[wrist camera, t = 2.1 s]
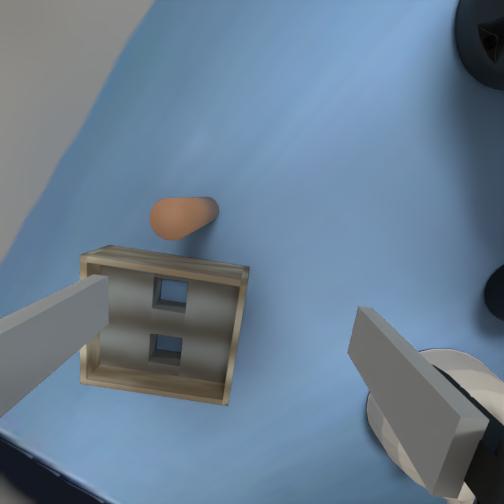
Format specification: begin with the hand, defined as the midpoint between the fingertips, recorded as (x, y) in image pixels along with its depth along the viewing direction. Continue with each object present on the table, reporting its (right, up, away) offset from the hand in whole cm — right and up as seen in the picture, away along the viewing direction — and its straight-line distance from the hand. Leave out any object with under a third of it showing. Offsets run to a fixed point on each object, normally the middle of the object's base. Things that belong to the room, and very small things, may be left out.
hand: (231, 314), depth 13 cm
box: (-11, -6, +24) cm, 27 cm away
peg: (-5, +9, +20) cm, 23 cm away
